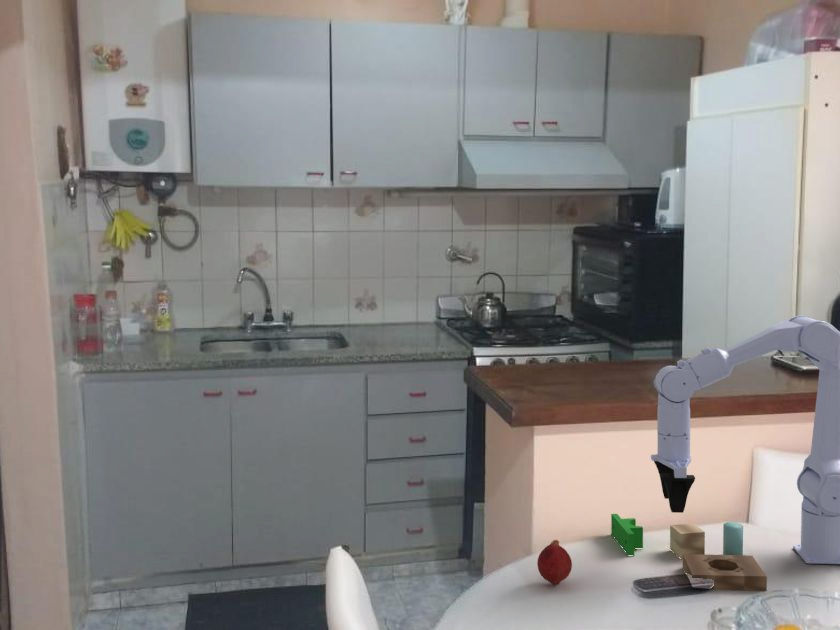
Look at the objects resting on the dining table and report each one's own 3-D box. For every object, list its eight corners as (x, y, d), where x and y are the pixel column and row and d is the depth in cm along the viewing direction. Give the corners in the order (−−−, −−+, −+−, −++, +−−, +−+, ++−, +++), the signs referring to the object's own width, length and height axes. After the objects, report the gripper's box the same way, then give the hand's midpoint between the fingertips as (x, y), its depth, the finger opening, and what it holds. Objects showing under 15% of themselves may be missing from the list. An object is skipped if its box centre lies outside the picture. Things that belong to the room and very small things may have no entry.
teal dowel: (740, 553, 159) (740, 522, 158) (744, 560, 156) (745, 528, 155) (721, 553, 159) (721, 522, 159) (725, 560, 156) (725, 528, 155)
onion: (550, 594, 144) (550, 548, 143) (531, 582, 149) (530, 538, 148) (578, 587, 146) (578, 542, 145) (558, 575, 151) (557, 531, 151)
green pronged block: (648, 556, 159) (648, 533, 159) (628, 557, 159) (628, 534, 158) (629, 534, 170) (629, 512, 170) (611, 535, 170) (611, 513, 170)
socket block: (752, 569, 152) (752, 555, 152) (766, 590, 143) (766, 576, 143) (682, 567, 153) (682, 554, 153) (692, 589, 144) (692, 574, 144)
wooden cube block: (693, 548, 162) (693, 523, 161) (704, 558, 157) (704, 531, 157) (670, 550, 161) (670, 525, 161) (680, 560, 157) (681, 533, 156)
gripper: (645, 423, 163) (645, 492, 165) (657, 442, 149) (657, 518, 150) (683, 423, 162) (683, 492, 164) (699, 442, 148) (698, 518, 150)
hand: (673, 504), depth 157 cm, fingers open, 7 cm apart
